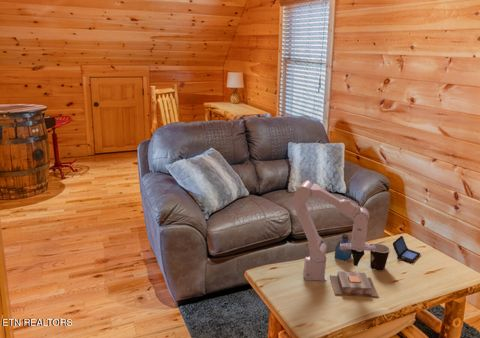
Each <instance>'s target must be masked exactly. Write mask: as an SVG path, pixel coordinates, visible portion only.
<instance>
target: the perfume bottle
mask: <svg viewBox="0 0 480 338" xmlns="http://www.w3.org/2000/svg"><path fill="white" fill-rule="evenodd" d="M349 236H350V235H349V234H346V233H342V234H341V239H340V240H339V242H338V243H337V244H336V246H335V249H334V259H336V260H339V261H342V262H345V263H347V262H348V261H349V260H350V259H351V258H352V253H351V250H350V249H343V250H340V244H344V243H351V240H349V239H350V238H349Z"/></svg>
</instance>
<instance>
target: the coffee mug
mask: <svg viewBox="0 0 480 338" xmlns="http://www.w3.org/2000/svg"><path fill="white" fill-rule="evenodd" d="M369 245H374V246H375V247H376V249H375V252H373V251H370V252H369V253H370V254H369V255H370V257H369V258H370V261H369V263H370V265H369V266H370V268H371V270H374V271H381V272H382V271H384V270H385V267H386V265H387V262H388V261H387V260H388V257H389V255H390V251H391V248H390V247H388V245H385V244H382V243H371V244H369Z"/></svg>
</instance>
